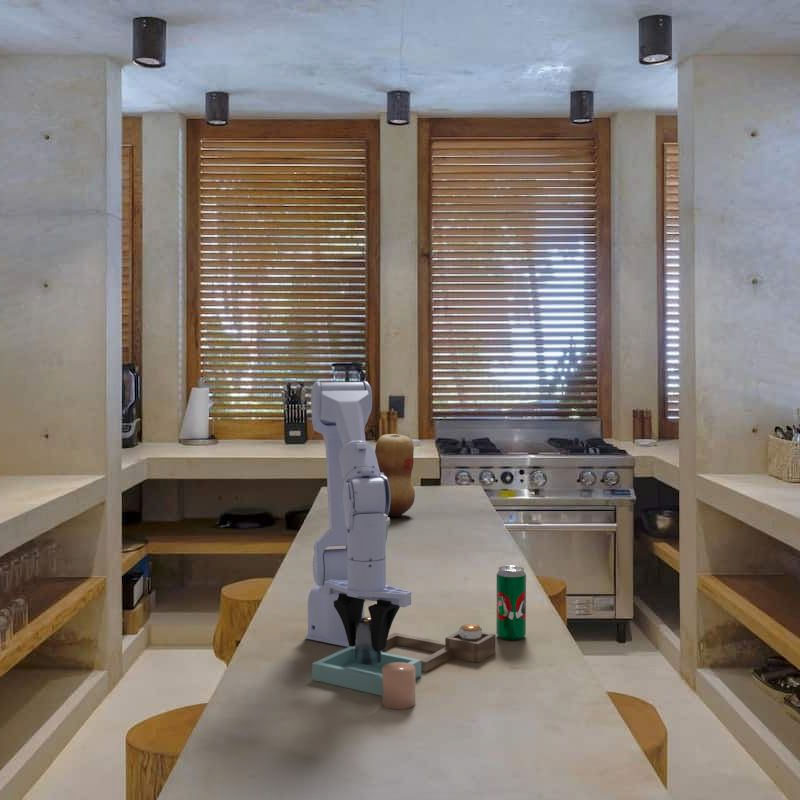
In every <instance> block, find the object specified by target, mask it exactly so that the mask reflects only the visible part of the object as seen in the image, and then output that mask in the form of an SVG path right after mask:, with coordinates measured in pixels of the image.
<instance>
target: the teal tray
mask: <svg viewBox="0 0 800 800" xmlns="http://www.w3.org/2000/svg"><path fill="white" fill-rule="evenodd" d="M421 660H422V659H419V658H414V657H410V656H404V655H399V654H394V653H389V652H384V651H382V652H381V662H380V663H377V664H372V665H364V664H358V663H356V662H355V646H353V647H351V646H349V647H345V648H343V649H341V650H339V651H336V652H334V653H331V654H330V655H326V656H325V657H323V658H321V659H319V660H316V661H314V662H312V664H311V666H312V667H311V670H312V671H311V673H312V674H311V675H312V676H311V678H312V679H311V680H312V681H316V682H321V683H325V684H329V685H332V686H333V685H334V686H338V687H342V688H347V689H351V690H356V691H360V692H364V693H367V694H372V695H376V696H381V697H383V689H382V667H383V666H384V665H386V664H388V663H394V662H404V663H410V664H412V665H414V666H415V680H417V679H419V678H420V677H422V671H421Z"/></svg>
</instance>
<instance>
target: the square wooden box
mask: <svg viewBox="0 0 800 800" xmlns="http://www.w3.org/2000/svg"><path fill="white" fill-rule="evenodd" d="M496 635H497V634H494V633H490V632H484V631H482V639H481V640H479V641H477V642H474V641H469V640H463V639H459V630H458V631H456V632H454V633H452V634H451V635H448V636H446V637H445V640H444V642H445V647H447V648H452V658H451V659H456V660H457V659H458V660H462V661H463V660H464V661H468V662H471V663H472V662H473V663H477V664H478V663H480V662H482V661H484V660H486V659H487V658H489V657H490V656H493V655H494V654H495V653H496Z"/></svg>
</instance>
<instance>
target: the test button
mask: <svg viewBox="0 0 800 800" xmlns="http://www.w3.org/2000/svg"><path fill="white" fill-rule="evenodd" d="M482 629H483V628H482V627H481V626H480V625H479V624H474V623H473V624H472V623H469V624H463V625H461V626H460V627H459V630H458V631H459V639H463V640H469V641H474V642H477V641H479V640H481V639H482V632H483V630H482Z"/></svg>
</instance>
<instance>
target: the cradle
mask: <svg viewBox="0 0 800 800" xmlns="http://www.w3.org/2000/svg"><path fill="white" fill-rule="evenodd" d="M394 646H403V647H408V648H412V649H418V650H422V651H429V652H433V653H432V654H430V655H428V656H426V657H424V658H422V659H420V660H421V672H423V673H424V672H425V673H427V672H428V671H431V670H432V669H435V668H436V667H437V666H439V665H441V664H443V663H445V662H447V661H448V660H450V659H453V658H452V648H447V647H445V641H440V640H435V639H429V638H424V637H419V636H413V635H407V634H403V633H397V632H393V633H391V634H388V638H387V642H386V647H385V649H383V650H381V652H384V651H386V650H388V649H390V648H392V647H394Z"/></svg>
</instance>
